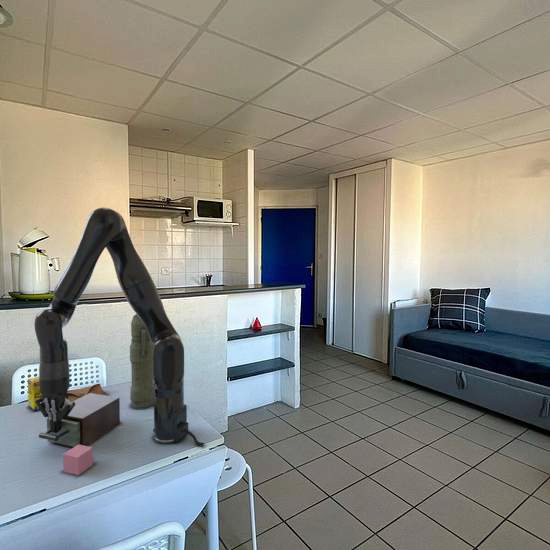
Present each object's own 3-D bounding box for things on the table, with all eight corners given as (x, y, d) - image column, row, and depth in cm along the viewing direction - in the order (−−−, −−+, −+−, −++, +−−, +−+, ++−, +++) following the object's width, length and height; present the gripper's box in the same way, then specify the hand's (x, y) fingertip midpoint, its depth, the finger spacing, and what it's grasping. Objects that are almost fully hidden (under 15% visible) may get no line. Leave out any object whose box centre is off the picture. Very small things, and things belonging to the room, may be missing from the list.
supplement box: (34, 411, 128) (33, 382, 127) (28, 407, 132) (27, 378, 131) (52, 406, 133) (51, 378, 132) (46, 401, 136) (45, 374, 135)
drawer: (62, 456, 99) (61, 432, 99) (32, 449, 102) (31, 425, 102) (112, 424, 118) (112, 403, 117) (85, 419, 121) (84, 398, 120)
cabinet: (83, 447, 105) (82, 418, 105) (51, 440, 109) (49, 412, 108) (120, 423, 120) (119, 397, 120) (90, 417, 124) (89, 392, 123)
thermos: (150, 395, 143) (149, 311, 140) (159, 406, 133) (158, 316, 131) (127, 400, 138) (125, 313, 135) (134, 412, 128) (133, 318, 126)
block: (93, 464, 97) (92, 447, 97) (78, 475, 93) (77, 457, 92) (78, 461, 99) (78, 444, 98) (63, 471, 94) (63, 454, 94)
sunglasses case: (58, 410, 128) (55, 392, 130) (53, 414, 133) (50, 396, 134) (108, 395, 141) (105, 379, 143) (103, 399, 146) (99, 384, 148)
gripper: (25, 376, 101) (27, 434, 102) (61, 381, 97) (62, 442, 98) (48, 367, 108) (50, 422, 109) (83, 372, 104) (84, 429, 105)
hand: (56, 431), depth 104 cm, fingers closed
